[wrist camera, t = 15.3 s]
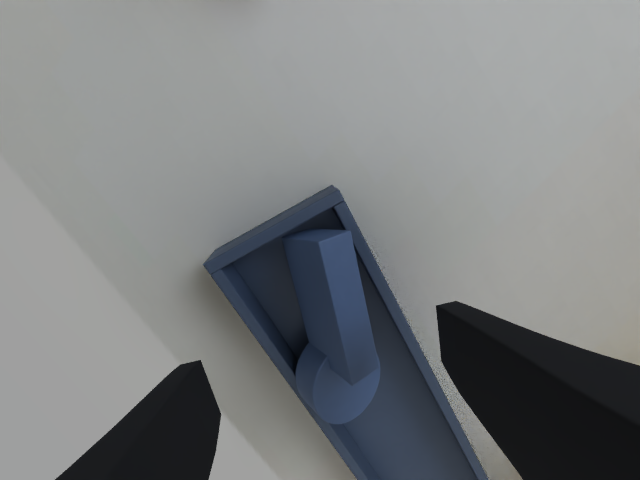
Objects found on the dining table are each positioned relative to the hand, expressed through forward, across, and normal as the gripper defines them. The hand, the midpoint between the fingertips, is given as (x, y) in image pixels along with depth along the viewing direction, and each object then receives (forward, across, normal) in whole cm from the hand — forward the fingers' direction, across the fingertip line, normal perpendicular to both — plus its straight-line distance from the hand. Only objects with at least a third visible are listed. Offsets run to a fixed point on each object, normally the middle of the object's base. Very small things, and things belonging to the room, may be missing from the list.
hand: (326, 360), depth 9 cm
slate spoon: (+4, 0, +1) cm, 5 cm away
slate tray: (+6, -2, +8) cm, 10 cm away
